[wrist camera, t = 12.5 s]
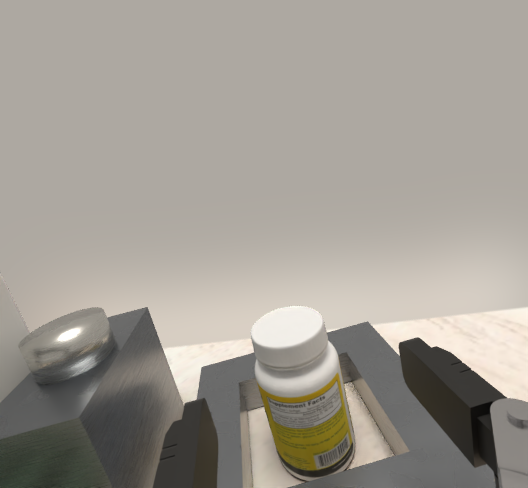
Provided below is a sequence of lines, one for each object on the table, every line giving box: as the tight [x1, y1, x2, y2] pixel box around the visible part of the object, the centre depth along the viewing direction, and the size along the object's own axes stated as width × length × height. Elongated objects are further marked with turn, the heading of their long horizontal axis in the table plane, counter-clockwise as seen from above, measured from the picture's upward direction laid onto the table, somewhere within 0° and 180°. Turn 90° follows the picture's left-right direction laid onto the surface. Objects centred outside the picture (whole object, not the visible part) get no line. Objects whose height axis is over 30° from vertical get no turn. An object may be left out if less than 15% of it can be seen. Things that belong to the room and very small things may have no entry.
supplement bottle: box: [251, 306, 355, 481], centre depth 17 cm, size 5×5×8 cm
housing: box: [0, 307, 495, 488], centre depth 17 cm, size 21×14×11 cm, turn 96°
